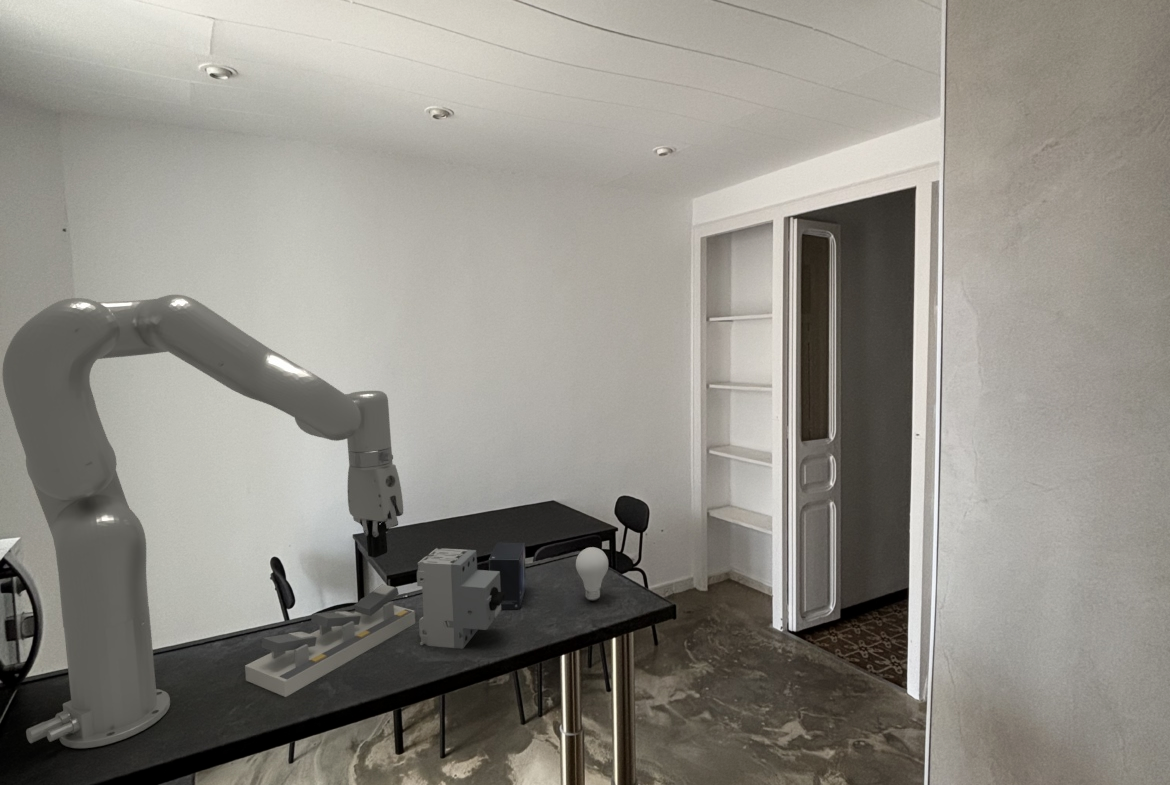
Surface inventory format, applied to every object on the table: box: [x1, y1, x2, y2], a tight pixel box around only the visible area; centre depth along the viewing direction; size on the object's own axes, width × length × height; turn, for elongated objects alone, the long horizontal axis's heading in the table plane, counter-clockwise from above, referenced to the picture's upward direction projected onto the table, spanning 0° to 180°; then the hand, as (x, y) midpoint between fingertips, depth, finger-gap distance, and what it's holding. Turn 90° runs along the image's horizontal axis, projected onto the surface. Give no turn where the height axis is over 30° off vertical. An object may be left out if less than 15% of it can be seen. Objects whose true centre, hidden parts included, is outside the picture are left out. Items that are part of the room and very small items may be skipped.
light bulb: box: [575, 546, 609, 602], centre depth 124 cm, size 7×7×11 cm
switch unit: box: [244, 597, 416, 698], centre depth 106 cm, size 27×10×5 cm, turn 151°
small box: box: [488, 541, 527, 610], centre depth 126 cm, size 11×6×10 cm, turn 179°
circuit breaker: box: [416, 547, 506, 650], centre depth 109 cm, size 8×14×15 cm, turn 78°
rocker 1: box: [260, 631, 317, 653], centre depth 98 cm, size 7×4×2 cm, turn 151°
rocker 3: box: [353, 584, 399, 616], centre depth 114 cm, size 7×4×2 cm, turn 151°
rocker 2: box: [310, 610, 361, 627], centre depth 106 cm, size 7×4×2 cm, turn 151°
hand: (377, 554), depth 114 cm, fingers closed
